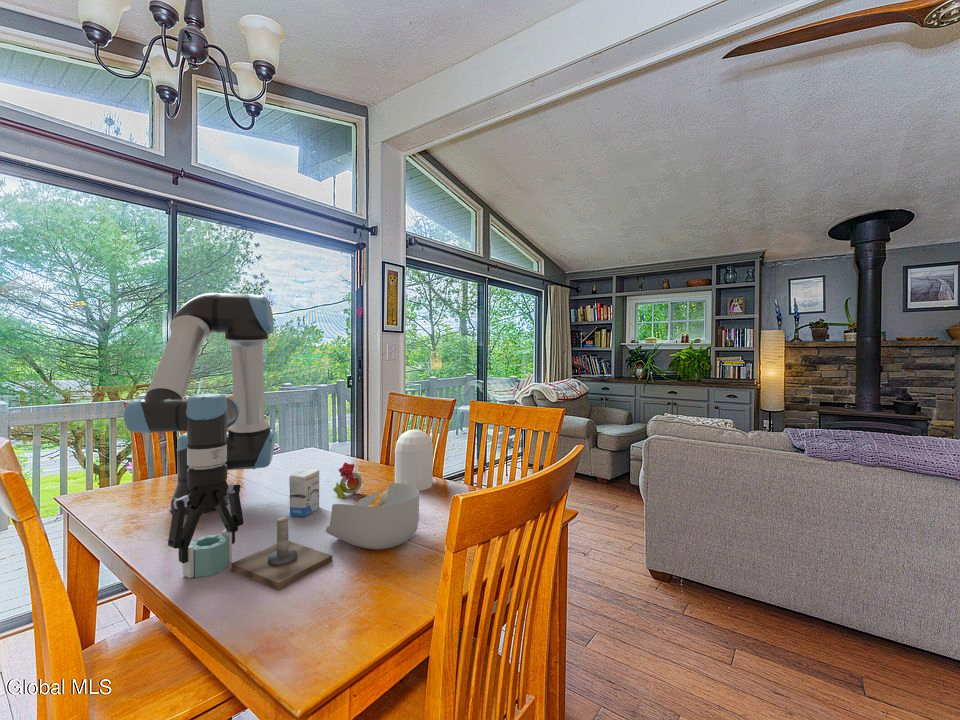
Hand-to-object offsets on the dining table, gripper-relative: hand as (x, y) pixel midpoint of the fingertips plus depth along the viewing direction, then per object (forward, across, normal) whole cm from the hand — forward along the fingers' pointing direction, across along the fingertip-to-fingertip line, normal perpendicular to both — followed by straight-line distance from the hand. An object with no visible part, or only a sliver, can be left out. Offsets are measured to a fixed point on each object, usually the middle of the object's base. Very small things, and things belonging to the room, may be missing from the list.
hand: (208, 567), depth 99 cm
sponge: (+1, +47, -13) cm, 49 cm away
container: (+1, +71, -2) cm, 71 cm away
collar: (0, 0, 0) cm, 0 cm away
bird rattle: (+1, +51, +10) cm, 52 cm away
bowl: (+1, +31, -22) cm, 38 cm away
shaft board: (0, +9, -13) cm, 16 cm away
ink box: (+1, +34, +10) cm, 35 cm away
